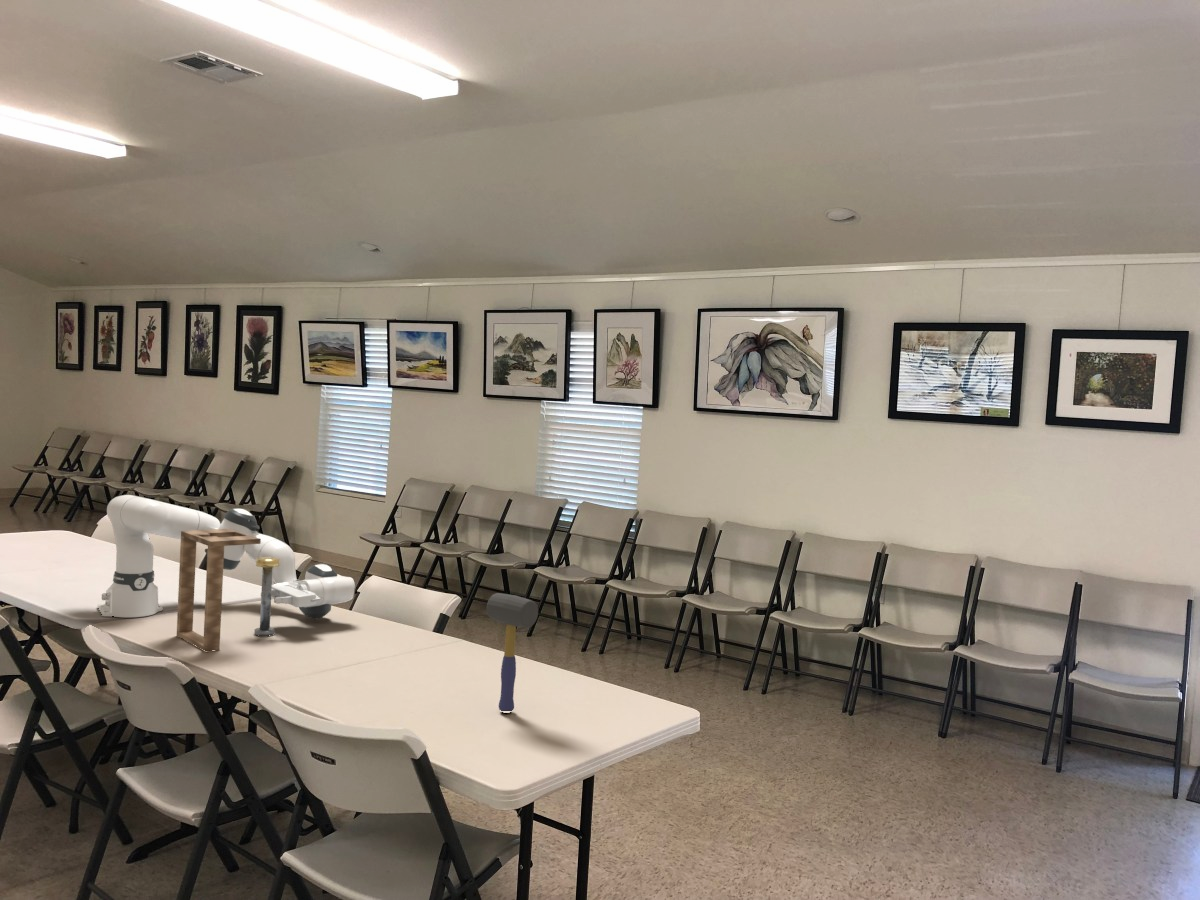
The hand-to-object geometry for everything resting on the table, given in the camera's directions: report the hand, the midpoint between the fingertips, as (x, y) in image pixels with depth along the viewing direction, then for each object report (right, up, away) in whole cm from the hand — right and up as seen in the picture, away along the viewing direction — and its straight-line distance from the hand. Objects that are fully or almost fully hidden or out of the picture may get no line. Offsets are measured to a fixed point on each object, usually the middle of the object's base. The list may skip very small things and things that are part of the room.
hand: (268, 597), depth 298 cm
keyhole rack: (-13, -11, -11) cm, 20 cm away
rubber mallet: (+81, -20, -59) cm, 102 cm away
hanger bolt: (-1, -12, +1) cm, 12 cm away
